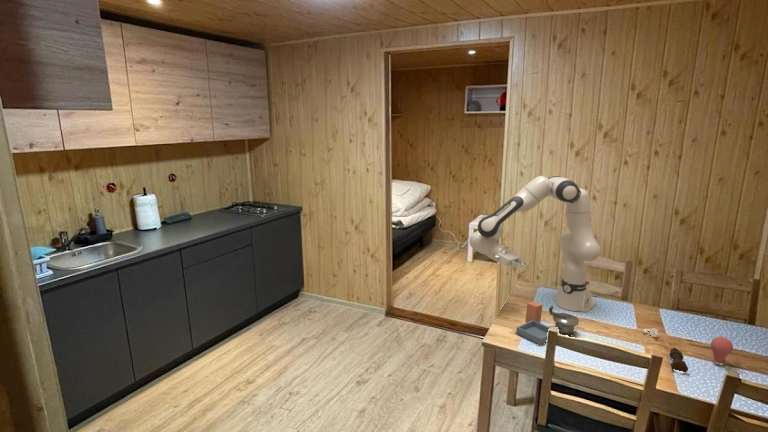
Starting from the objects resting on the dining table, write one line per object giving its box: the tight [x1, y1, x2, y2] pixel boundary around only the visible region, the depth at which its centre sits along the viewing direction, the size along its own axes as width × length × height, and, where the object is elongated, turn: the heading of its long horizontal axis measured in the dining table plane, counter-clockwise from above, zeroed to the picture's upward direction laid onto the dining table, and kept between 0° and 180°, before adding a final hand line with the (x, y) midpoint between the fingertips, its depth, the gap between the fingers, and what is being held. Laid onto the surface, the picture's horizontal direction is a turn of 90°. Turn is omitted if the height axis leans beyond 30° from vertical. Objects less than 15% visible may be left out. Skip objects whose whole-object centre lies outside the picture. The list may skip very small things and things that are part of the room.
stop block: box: [524, 300, 544, 323], centre depth 202 cm, size 5×5×10 cm
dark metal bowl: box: [548, 305, 580, 337], centre depth 194 cm, size 13×11×11 cm
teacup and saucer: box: [643, 327, 659, 338], centre depth 192 cm, size 9×8×4 cm
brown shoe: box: [668, 347, 689, 373], centre depth 171 cm, size 6×5×15 cm
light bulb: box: [710, 336, 734, 363], centre depth 170 cm, size 7×7×12 cm
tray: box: [515, 320, 551, 346], centre depth 190 cm, size 13×13×4 cm
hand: (523, 266), depth 202 cm, fingers open, 8 cm apart
